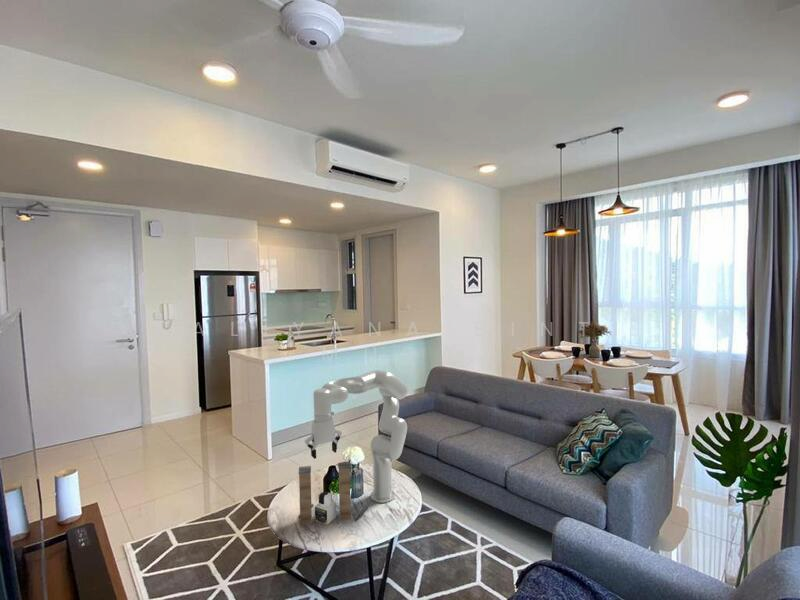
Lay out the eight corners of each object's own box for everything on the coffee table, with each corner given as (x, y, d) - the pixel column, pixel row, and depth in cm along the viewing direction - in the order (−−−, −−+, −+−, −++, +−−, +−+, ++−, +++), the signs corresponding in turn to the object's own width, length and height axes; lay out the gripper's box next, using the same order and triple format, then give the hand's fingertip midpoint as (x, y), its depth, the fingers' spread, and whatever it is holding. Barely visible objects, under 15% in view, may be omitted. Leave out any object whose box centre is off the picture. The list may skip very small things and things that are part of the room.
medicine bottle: (314, 521, 178) (314, 495, 178) (324, 513, 184) (324, 488, 184) (327, 525, 175) (326, 499, 174) (336, 516, 181) (336, 491, 181)
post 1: (300, 518, 180) (299, 467, 179) (312, 517, 181) (310, 465, 180) (299, 525, 174) (298, 472, 174) (312, 524, 176) (310, 471, 175)
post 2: (339, 513, 183) (338, 462, 183) (350, 512, 184) (349, 461, 184) (339, 520, 178) (338, 468, 177) (351, 518, 179) (350, 466, 178)
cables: (306, 505, 191) (306, 503, 191) (368, 507, 188) (368, 505, 188) (298, 518, 180) (298, 515, 180) (364, 520, 177) (364, 518, 177)
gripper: (336, 410, 178) (338, 446, 179) (301, 419, 168) (302, 457, 169) (344, 414, 172) (345, 452, 173) (307, 423, 162) (309, 463, 163)
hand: (324, 454), depth 171 cm, fingers open, 9 cm apart
